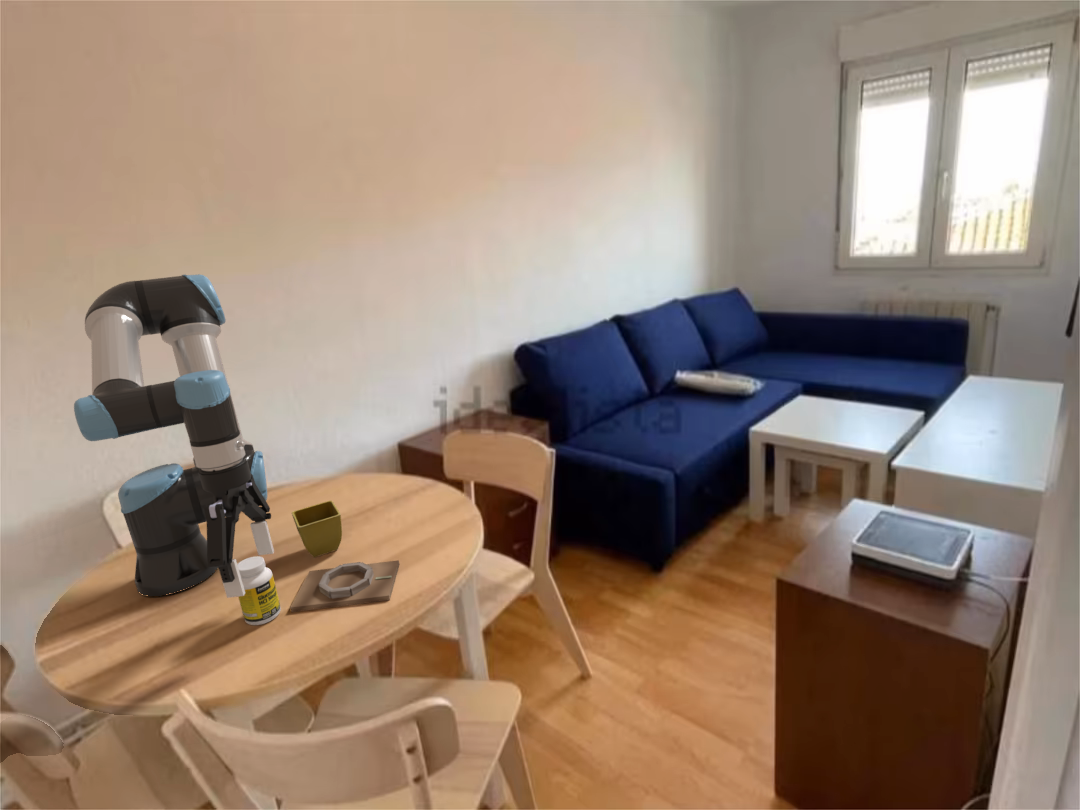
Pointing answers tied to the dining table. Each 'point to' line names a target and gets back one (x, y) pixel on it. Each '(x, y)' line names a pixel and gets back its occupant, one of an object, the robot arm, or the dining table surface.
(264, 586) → the pill bottle
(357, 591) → the collar base
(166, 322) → the robot arm
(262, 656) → the dining table surface
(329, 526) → the flower pot
